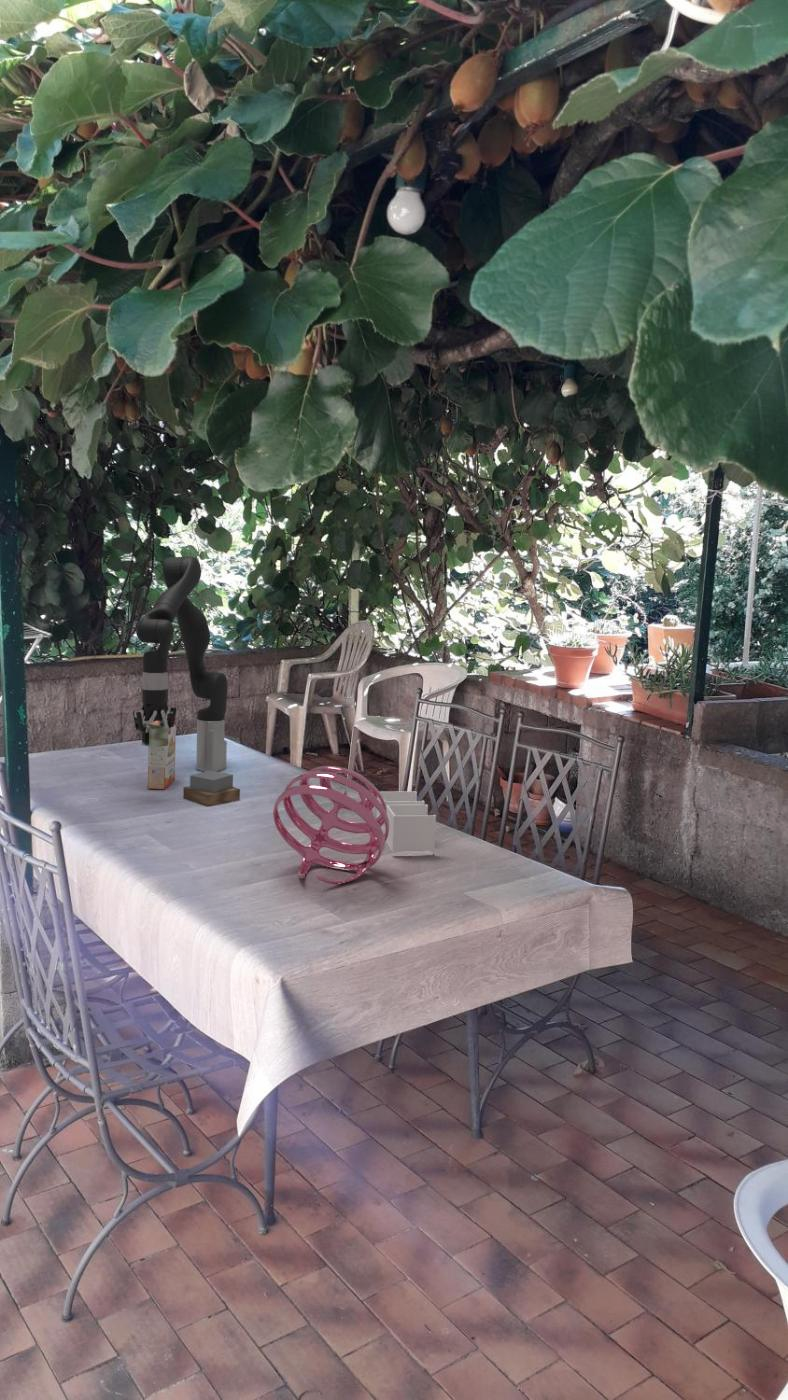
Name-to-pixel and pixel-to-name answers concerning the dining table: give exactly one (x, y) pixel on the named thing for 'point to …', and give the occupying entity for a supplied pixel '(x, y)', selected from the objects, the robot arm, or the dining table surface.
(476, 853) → the dining table surface
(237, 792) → the bottom slab
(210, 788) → the top slab
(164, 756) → the cracker box
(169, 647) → the robot arm
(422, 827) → the storage container
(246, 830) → the dining table surface
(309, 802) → the spiral basket
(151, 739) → the green cube
